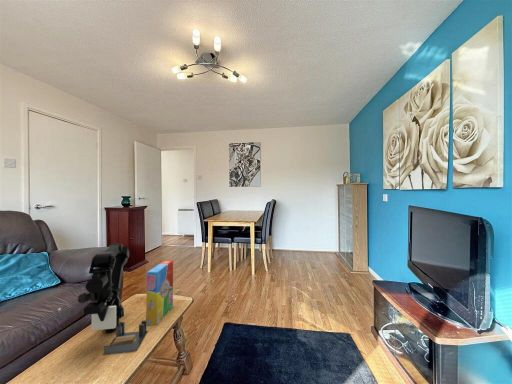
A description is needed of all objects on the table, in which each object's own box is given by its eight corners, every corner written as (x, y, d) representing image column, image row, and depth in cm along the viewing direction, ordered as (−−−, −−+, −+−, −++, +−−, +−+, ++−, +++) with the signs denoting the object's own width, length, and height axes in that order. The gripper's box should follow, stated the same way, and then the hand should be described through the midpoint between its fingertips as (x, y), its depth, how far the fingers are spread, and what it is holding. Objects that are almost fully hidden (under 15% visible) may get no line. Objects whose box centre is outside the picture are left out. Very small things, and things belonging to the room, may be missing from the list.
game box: (156, 328, 110) (156, 272, 110) (145, 327, 110) (145, 272, 110) (173, 306, 131) (173, 260, 131) (163, 306, 131) (164, 260, 131)
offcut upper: (116, 341, 95) (116, 337, 95) (135, 338, 97) (135, 334, 97) (113, 346, 92) (113, 342, 92) (132, 343, 94) (132, 339, 94)
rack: (118, 335, 104) (118, 322, 104) (148, 332, 106) (148, 320, 106) (102, 357, 90) (102, 342, 90) (137, 353, 92) (137, 338, 92)
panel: (93, 328, 96) (93, 307, 96) (116, 326, 97) (116, 305, 97) (91, 330, 94) (91, 308, 94) (114, 328, 96) (114, 307, 96)
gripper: (95, 276, 104) (94, 310, 104) (67, 294, 85) (67, 335, 85) (121, 275, 105) (120, 308, 105) (99, 292, 87) (99, 332, 87)
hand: (103, 320), depth 96 cm, fingers closed on panel, 1 cm apart
